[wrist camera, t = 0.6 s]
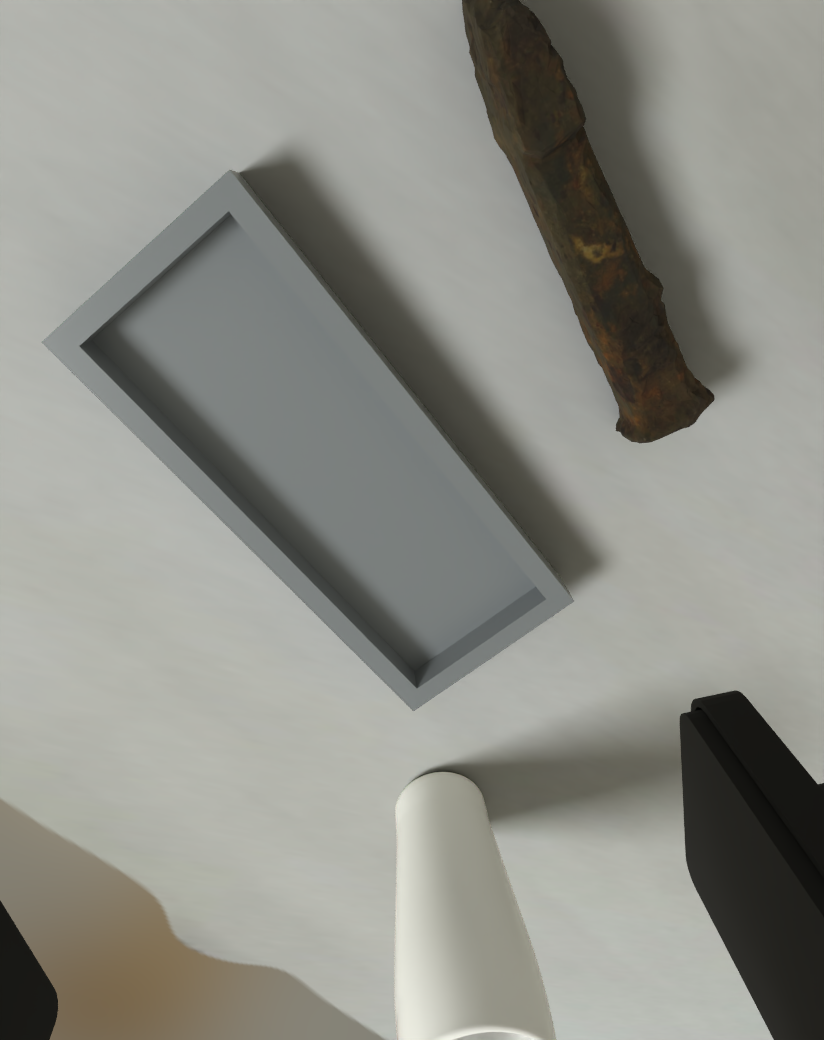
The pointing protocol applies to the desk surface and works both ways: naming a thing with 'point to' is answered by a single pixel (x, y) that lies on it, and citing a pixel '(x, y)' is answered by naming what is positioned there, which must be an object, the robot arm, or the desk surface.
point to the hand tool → (580, 220)
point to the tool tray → (309, 444)
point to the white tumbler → (459, 924)
